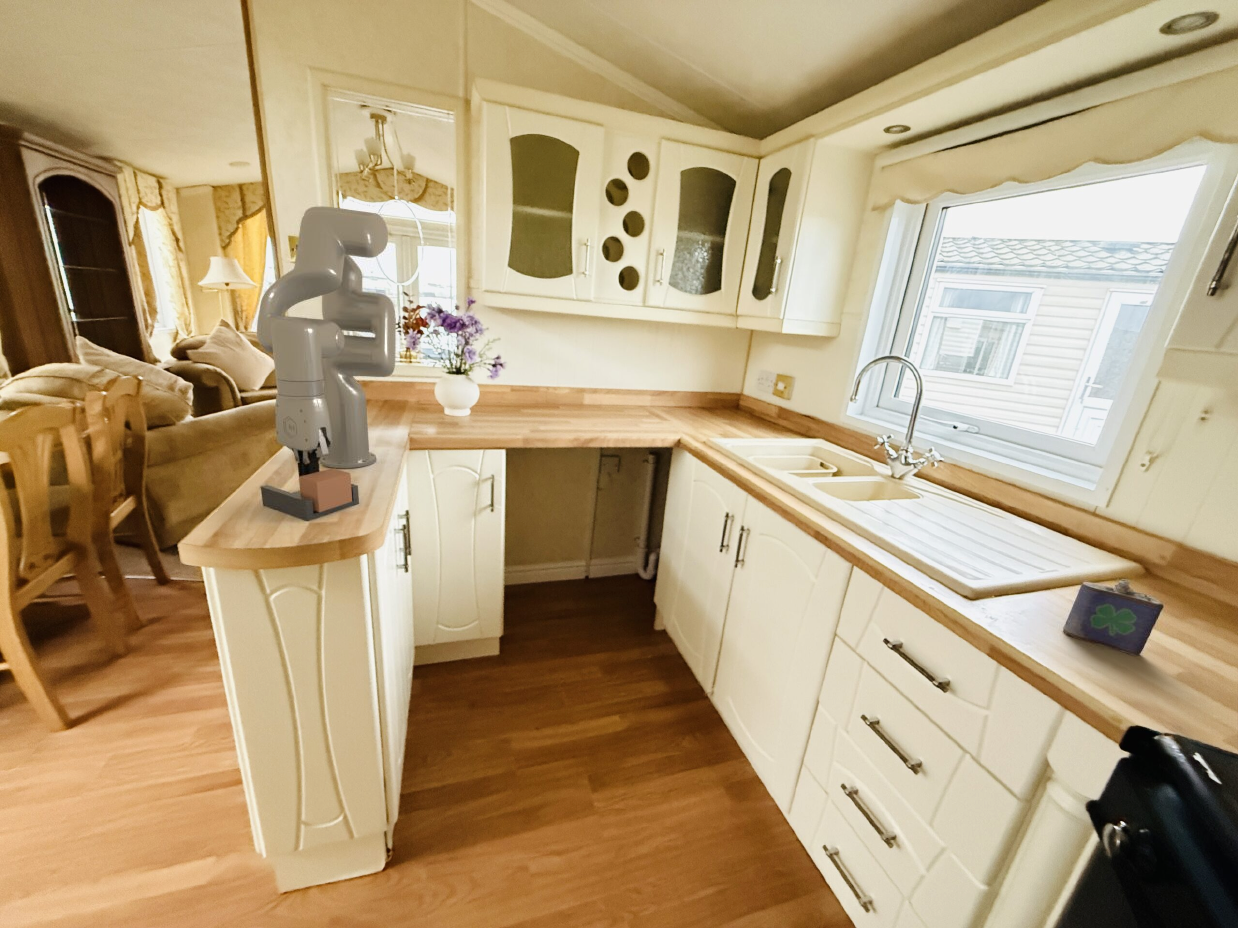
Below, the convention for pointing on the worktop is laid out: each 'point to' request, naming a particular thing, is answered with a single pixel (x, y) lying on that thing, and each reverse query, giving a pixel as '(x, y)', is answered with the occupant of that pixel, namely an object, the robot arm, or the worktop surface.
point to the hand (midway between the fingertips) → (309, 480)
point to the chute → (299, 503)
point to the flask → (1113, 616)
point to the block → (326, 488)
